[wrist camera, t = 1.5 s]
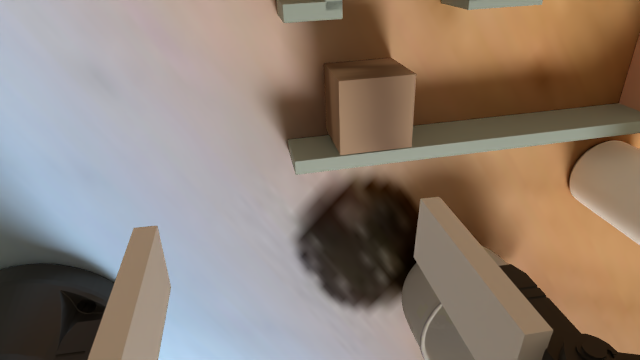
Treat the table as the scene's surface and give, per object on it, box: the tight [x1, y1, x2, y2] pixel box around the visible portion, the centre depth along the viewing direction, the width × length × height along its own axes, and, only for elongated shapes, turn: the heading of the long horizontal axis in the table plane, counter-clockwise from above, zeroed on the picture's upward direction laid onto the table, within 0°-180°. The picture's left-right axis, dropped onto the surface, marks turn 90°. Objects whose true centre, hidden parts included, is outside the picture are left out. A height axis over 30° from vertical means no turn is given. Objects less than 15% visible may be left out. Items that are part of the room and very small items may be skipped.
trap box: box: [276, 0, 640, 175], centre depth 29 cm, size 30×18×4 cm, turn 93°
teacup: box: [402, 246, 508, 360], centre depth 39 cm, size 14×11×8 cm
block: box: [324, 58, 416, 155], centre depth 30 cm, size 5×5×5 cm
